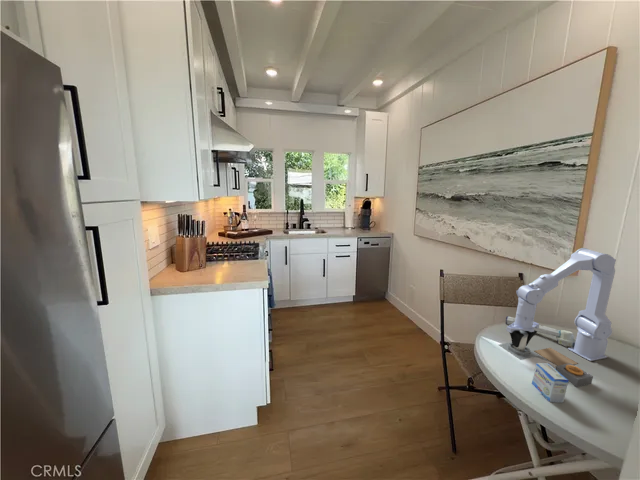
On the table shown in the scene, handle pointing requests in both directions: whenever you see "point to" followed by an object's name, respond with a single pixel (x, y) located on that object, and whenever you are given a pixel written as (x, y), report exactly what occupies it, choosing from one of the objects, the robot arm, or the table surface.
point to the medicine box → (550, 382)
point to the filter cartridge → (522, 342)
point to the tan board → (555, 356)
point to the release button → (574, 370)
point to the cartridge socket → (519, 354)
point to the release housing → (573, 379)
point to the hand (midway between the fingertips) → (519, 345)
